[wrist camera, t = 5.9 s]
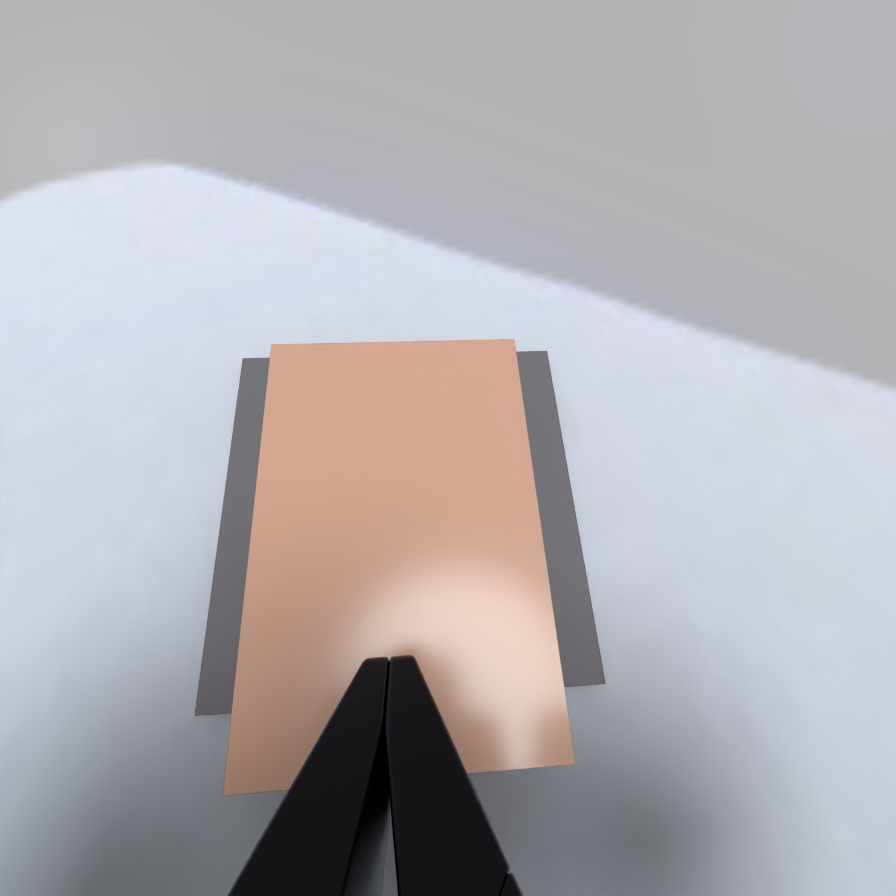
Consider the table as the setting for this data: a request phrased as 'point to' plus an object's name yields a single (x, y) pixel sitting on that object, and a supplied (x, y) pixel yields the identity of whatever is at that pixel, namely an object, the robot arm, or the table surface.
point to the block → (396, 555)
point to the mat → (554, 512)
